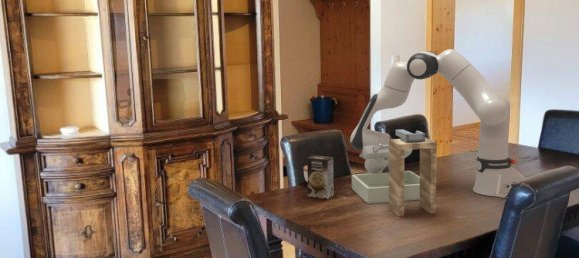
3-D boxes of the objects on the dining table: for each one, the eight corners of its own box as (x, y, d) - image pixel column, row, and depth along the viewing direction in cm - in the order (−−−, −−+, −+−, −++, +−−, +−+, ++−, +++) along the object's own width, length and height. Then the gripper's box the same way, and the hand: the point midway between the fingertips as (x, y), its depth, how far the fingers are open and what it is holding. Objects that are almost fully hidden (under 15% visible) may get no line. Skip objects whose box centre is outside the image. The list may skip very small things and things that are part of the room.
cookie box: (307, 196, 222) (306, 157, 219) (314, 192, 227) (313, 154, 224) (327, 199, 217) (327, 159, 215) (334, 195, 223) (333, 156, 220)
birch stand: (424, 205, 206) (425, 137, 202) (435, 213, 197) (436, 142, 192) (388, 208, 204) (389, 139, 200) (398, 216, 194) (398, 144, 190)
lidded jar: (308, 188, 234) (307, 167, 232) (300, 182, 244) (300, 161, 242) (331, 186, 236) (331, 164, 235) (323, 180, 247) (323, 159, 245)
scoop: (408, 134, 209) (408, 126, 209) (425, 141, 194) (425, 133, 193) (390, 135, 208) (390, 127, 208) (406, 143, 193) (406, 134, 192)
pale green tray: (410, 184, 236) (410, 170, 235) (431, 198, 214) (431, 183, 213) (351, 188, 231) (351, 174, 230) (367, 203, 210) (367, 188, 209)
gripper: (357, 150, 230) (365, 138, 217) (403, 147, 233) (414, 135, 220) (359, 164, 227) (368, 153, 215) (406, 161, 231) (417, 150, 218)
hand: (392, 144), depth 217 cm, fingers open, 8 cm apart
